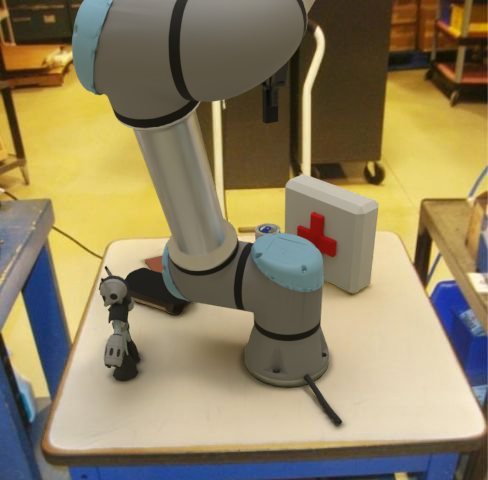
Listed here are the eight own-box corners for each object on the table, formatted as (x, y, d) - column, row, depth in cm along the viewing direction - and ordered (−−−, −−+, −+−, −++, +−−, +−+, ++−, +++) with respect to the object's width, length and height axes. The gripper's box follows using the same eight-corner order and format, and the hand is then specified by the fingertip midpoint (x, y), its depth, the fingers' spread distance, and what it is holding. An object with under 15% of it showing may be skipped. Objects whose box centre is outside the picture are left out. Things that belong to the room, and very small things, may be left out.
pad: (235, 254, 144) (235, 253, 144) (155, 275, 138) (155, 274, 137) (222, 241, 150) (222, 240, 150) (144, 260, 143) (144, 259, 143)
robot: (134, 402, 104) (117, 304, 92) (105, 404, 104) (84, 305, 92) (146, 334, 120) (132, 242, 108) (121, 335, 120) (105, 243, 108)
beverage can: (273, 300, 128) (273, 235, 119) (252, 294, 130) (250, 230, 121) (284, 288, 132) (285, 225, 123) (263, 283, 134) (262, 220, 125)
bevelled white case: (277, 264, 140) (278, 181, 128) (301, 252, 144) (304, 170, 133) (349, 300, 127) (357, 212, 115) (373, 286, 131) (383, 199, 120)
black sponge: (202, 298, 129) (201, 283, 127) (178, 318, 124) (177, 303, 121) (141, 279, 136) (139, 265, 134) (116, 297, 131) (113, 283, 128)
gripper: (307, -12, 104) (303, 127, 118) (271, -20, 114) (271, 110, 128) (268, -8, 102) (269, 134, 115) (234, -16, 111) (238, 116, 125)
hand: (270, 121), depth 121 cm, fingers closed
